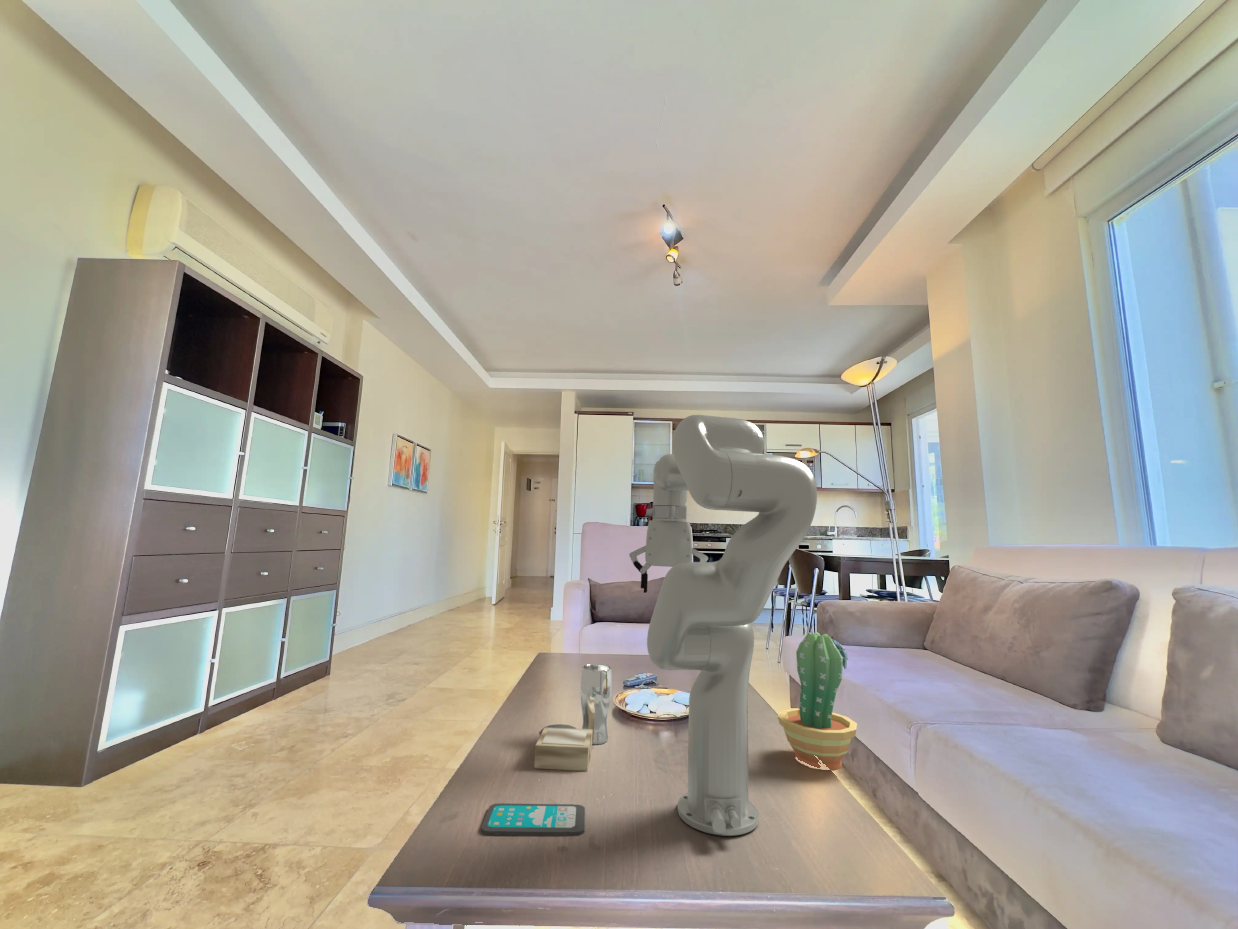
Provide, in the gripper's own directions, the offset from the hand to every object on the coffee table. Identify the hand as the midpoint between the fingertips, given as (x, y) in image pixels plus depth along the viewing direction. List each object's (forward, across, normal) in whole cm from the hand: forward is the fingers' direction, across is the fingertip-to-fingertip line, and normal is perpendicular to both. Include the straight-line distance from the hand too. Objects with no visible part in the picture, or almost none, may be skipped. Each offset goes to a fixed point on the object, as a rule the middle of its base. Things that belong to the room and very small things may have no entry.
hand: (667, 593), depth 113 cm
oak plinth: (+32, -20, -9) cm, 38 cm away
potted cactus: (+32, +31, -2) cm, 45 cm away
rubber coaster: (+32, -23, +5) cm, 40 cm away
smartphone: (+32, -20, -33) cm, 50 cm away
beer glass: (+32, -15, +2) cm, 36 cm away
